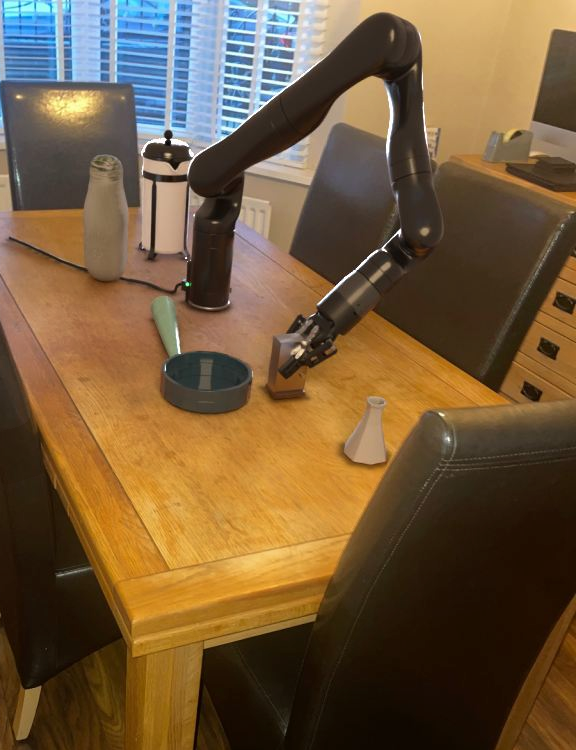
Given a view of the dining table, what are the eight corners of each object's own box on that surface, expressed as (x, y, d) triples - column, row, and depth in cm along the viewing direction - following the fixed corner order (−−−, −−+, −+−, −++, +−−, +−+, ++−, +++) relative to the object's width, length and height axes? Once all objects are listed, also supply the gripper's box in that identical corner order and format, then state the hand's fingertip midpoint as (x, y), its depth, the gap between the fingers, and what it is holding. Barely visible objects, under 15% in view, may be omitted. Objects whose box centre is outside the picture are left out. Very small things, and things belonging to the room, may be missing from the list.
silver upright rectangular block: (294, 384, 149) (302, 330, 143) (305, 396, 145) (313, 342, 139) (265, 387, 148) (271, 333, 141) (275, 399, 144) (282, 344, 137)
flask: (338, 442, 133) (348, 389, 127) (379, 442, 134) (392, 390, 128) (348, 465, 127) (360, 411, 121) (392, 465, 128) (405, 411, 122)
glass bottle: (78, 282, 187) (74, 156, 171) (98, 269, 195) (96, 148, 178) (115, 290, 184) (115, 162, 168) (134, 277, 192) (135, 154, 176)
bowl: (142, 395, 142) (142, 370, 140) (196, 367, 153) (197, 343, 150) (215, 426, 135) (217, 400, 132) (266, 394, 146) (269, 369, 143)
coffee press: (204, 252, 211) (212, 130, 193) (171, 266, 200) (177, 139, 182) (151, 238, 218) (155, 119, 200) (117, 252, 207) (117, 127, 189)
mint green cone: (166, 348, 146) (150, 295, 168) (165, 375, 150) (150, 320, 171) (194, 348, 147) (175, 295, 169) (193, 375, 151) (174, 320, 172)
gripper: (320, 275, 143) (251, 342, 146) (356, 304, 132) (281, 376, 136) (341, 301, 147) (274, 366, 151) (378, 331, 136) (304, 400, 140)
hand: (278, 370), depth 143 cm, fingers closed on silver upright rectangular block, 3 cm apart
